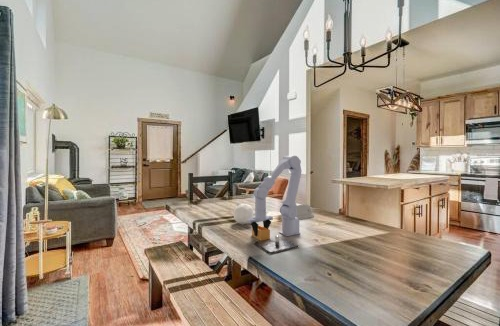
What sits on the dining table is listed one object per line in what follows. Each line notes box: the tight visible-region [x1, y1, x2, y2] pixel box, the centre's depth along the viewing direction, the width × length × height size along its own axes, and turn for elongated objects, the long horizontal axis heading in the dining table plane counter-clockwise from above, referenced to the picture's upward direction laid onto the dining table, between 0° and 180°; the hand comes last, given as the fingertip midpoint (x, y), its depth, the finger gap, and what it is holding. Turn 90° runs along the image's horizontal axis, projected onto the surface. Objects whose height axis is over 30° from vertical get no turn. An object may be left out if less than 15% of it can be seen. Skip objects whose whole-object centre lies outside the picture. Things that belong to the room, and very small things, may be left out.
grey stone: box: [296, 204, 315, 220], centre depth 179 cm, size 17×5×10 cm, turn 118°
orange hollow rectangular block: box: [251, 224, 271, 241], centre depth 136 cm, size 5×10×5 cm, turn 28°
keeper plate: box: [253, 235, 299, 255], centre depth 124 cm, size 16×15×6 cm
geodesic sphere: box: [232, 202, 255, 226], centre depth 164 cm, size 14×14×14 cm
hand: (260, 234), depth 137 cm, fingers closed on orange hollow rectangular block, 5 cm apart
